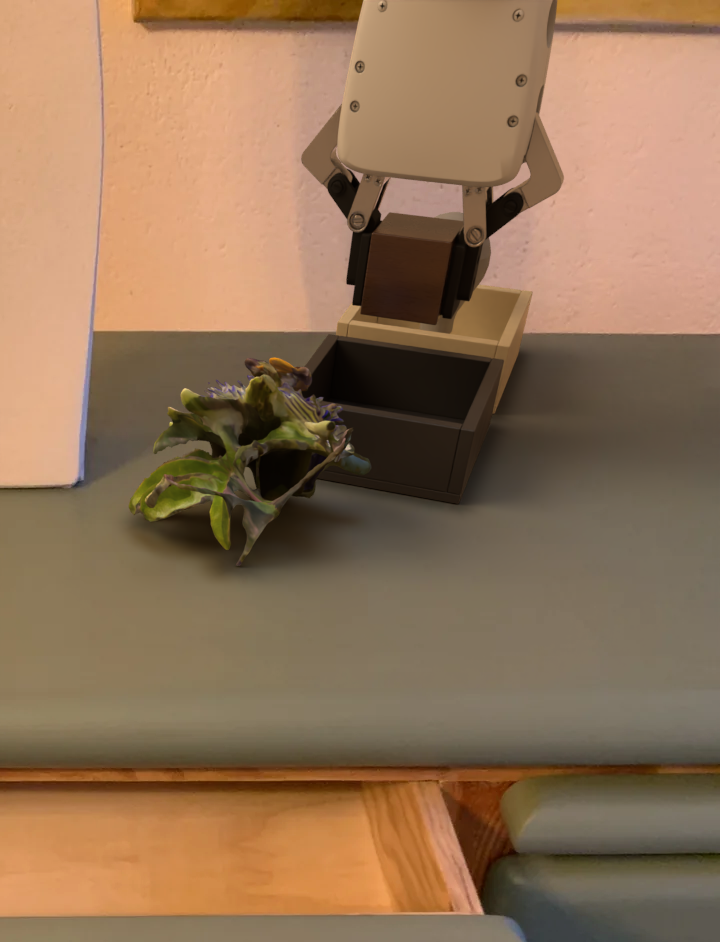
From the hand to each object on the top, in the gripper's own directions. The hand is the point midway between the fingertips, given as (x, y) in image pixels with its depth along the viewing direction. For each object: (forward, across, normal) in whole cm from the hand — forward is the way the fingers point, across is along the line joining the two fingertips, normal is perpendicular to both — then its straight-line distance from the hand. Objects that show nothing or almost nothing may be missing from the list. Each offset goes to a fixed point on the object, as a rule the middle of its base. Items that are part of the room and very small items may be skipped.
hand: (406, 301), depth 68 cm
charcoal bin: (+9, 0, 0) cm, 9 cm away
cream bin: (+9, 0, -14) cm, 17 cm away
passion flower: (+9, +5, +14) cm, 17 cm away
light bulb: (+9, 0, -14) cm, 17 cm away
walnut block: (0, 0, 0) cm, 0 cm away
